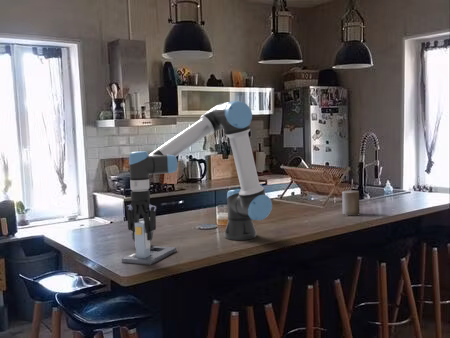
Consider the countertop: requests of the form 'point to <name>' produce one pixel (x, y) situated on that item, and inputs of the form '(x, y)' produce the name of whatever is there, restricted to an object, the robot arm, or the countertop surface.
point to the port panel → (155, 255)
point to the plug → (141, 240)
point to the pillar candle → (350, 202)
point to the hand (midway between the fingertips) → (142, 247)
